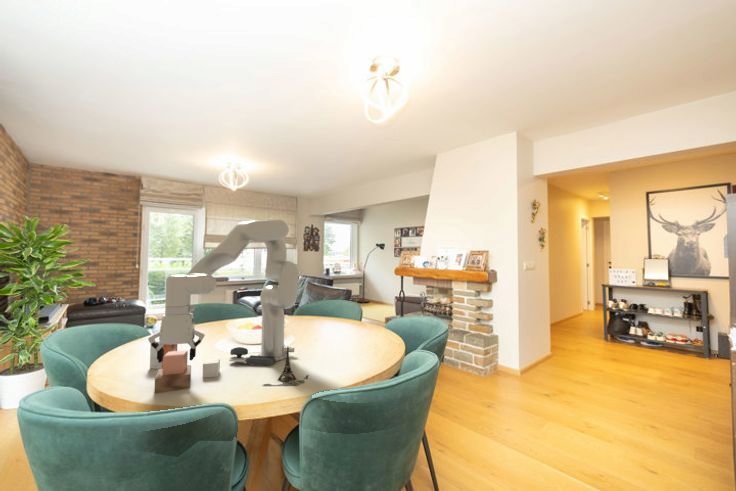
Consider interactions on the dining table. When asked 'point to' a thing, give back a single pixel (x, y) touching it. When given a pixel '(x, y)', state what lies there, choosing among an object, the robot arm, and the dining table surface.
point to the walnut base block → (172, 381)
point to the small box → (153, 355)
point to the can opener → (251, 358)
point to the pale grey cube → (211, 367)
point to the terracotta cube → (175, 362)
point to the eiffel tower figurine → (288, 375)
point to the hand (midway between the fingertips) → (176, 360)
